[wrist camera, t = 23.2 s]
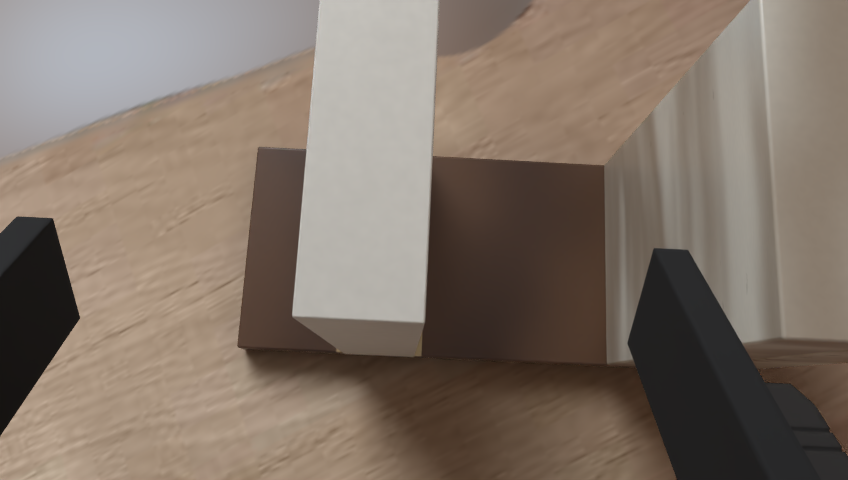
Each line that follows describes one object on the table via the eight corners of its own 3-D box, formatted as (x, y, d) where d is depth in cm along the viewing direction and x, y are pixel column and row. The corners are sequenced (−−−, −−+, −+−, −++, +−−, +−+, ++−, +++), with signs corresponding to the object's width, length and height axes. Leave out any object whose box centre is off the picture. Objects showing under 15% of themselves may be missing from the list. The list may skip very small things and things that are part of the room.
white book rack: (243, 349, 30) (90, 306, 15) (263, 155, 32) (144, -49, 17) (738, 373, 31) (1052, 353, 16) (728, 180, 33) (998, 2, 18)
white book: (343, 353, 29) (291, 317, 15) (357, 151, 31) (322, -39, 17) (414, 357, 29) (425, 324, 15) (424, 155, 31) (441, -32, 17)
